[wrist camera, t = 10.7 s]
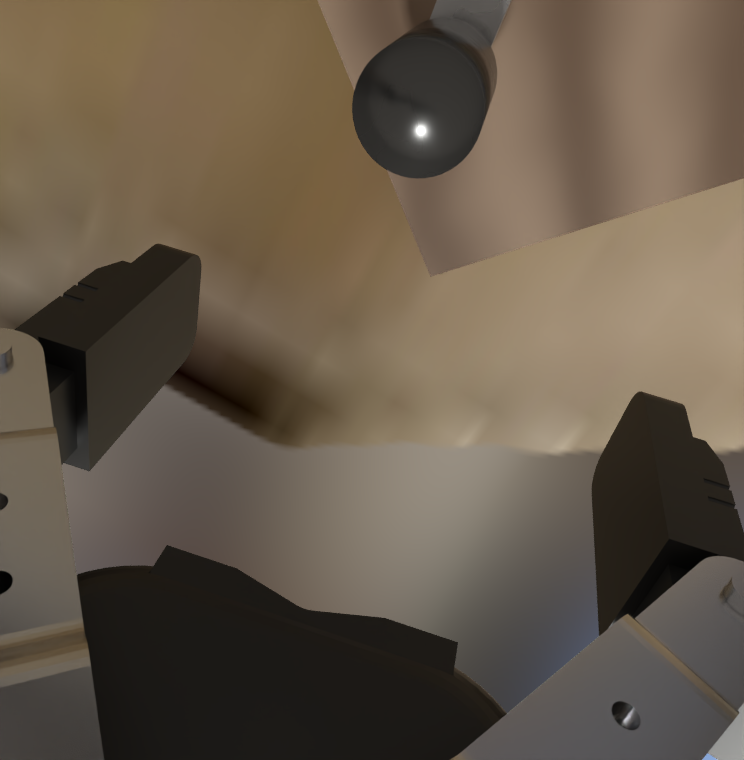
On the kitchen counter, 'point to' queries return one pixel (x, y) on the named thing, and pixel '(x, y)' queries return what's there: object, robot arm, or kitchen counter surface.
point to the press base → (572, 117)
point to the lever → (430, 90)
